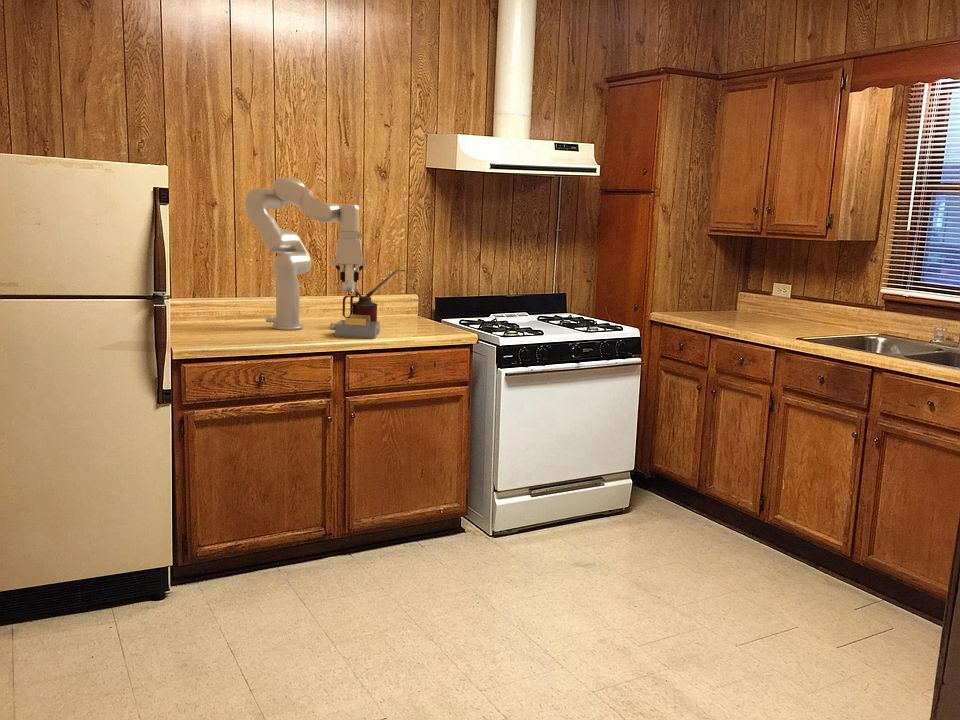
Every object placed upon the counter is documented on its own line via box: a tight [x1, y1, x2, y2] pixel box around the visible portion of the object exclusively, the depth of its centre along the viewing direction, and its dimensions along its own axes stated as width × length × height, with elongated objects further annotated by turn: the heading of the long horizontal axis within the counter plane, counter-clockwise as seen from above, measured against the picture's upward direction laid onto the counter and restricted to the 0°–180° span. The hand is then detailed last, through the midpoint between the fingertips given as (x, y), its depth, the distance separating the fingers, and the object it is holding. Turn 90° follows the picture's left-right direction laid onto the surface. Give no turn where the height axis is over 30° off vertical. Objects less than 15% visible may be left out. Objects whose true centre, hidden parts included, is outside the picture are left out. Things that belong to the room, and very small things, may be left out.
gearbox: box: [329, 314, 381, 339], centre depth 340 cm, size 19×13×8 cm
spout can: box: [343, 264, 356, 293], centre depth 334 cm, size 5×5×12 cm
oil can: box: [342, 269, 406, 322], centre depth 364 cm, size 28×11×25 cm, turn 117°
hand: (349, 281), depth 335 cm, fingers closed on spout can, 4 cm apart
